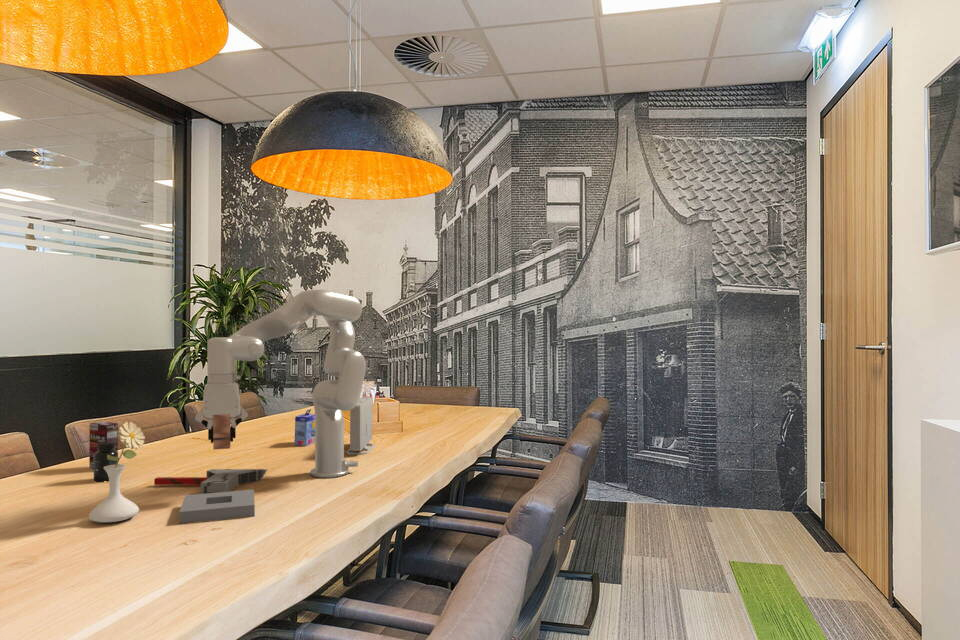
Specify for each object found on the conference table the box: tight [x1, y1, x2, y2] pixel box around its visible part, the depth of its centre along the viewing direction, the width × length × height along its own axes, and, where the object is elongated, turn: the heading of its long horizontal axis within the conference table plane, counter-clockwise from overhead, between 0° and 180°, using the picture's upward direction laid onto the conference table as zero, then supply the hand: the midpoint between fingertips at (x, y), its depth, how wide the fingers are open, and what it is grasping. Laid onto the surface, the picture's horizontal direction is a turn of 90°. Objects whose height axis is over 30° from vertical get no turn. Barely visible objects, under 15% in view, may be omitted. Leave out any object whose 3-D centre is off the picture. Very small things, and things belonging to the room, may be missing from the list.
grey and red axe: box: [153, 468, 268, 494], centre depth 197 cm, size 24×4×30 cm
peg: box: [212, 414, 232, 451], centre depth 182 cm, size 5×5×10 cm
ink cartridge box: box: [293, 408, 315, 447], centre depth 261 cm, size 10×6×14 cm, turn 171°
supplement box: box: [88, 421, 119, 469], centre depth 217 cm, size 9×5×16 cm, turn 68°
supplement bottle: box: [93, 442, 119, 483], centre depth 201 cm, size 7×7×12 cm
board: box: [179, 489, 256, 524], centre depth 169 cm, size 18×16×3 cm
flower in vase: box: [88, 421, 146, 524], centre depth 162 cm, size 13×11×25 cm
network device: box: [345, 396, 376, 456], centre depth 250 cm, size 26×9×20 cm, turn 179°
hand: (222, 440), depth 182 cm, fingers closed on peg, 4 cm apart
